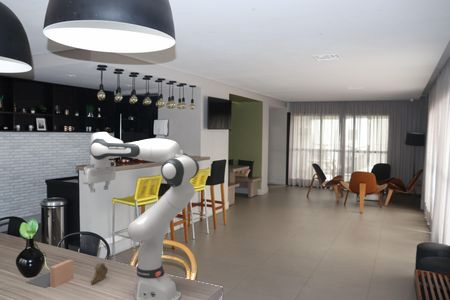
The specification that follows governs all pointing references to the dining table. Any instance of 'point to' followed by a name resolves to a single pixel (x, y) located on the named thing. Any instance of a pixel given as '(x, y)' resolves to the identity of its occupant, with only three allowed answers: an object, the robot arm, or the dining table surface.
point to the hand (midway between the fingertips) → (99, 190)
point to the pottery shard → (99, 272)
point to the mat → (41, 280)
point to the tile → (61, 273)
